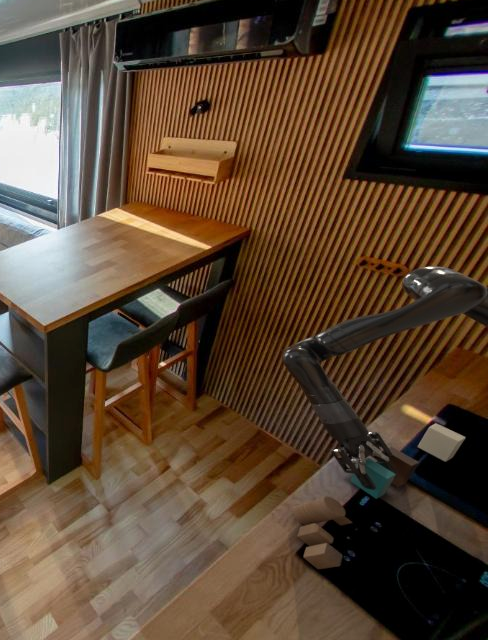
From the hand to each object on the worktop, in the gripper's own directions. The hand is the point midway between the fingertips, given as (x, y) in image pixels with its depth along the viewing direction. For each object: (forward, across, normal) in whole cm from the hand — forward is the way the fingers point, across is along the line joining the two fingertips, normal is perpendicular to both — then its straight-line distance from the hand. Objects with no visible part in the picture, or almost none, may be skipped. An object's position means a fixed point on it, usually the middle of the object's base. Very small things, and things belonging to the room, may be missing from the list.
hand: (381, 482), depth 90 cm
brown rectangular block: (+2, +8, +4) cm, 9 cm away
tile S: (+2, 0, +4) cm, 5 cm away
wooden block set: (+4, -23, +2) cm, 24 cm away
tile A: (+2, +26, +4) cm, 26 cm away
